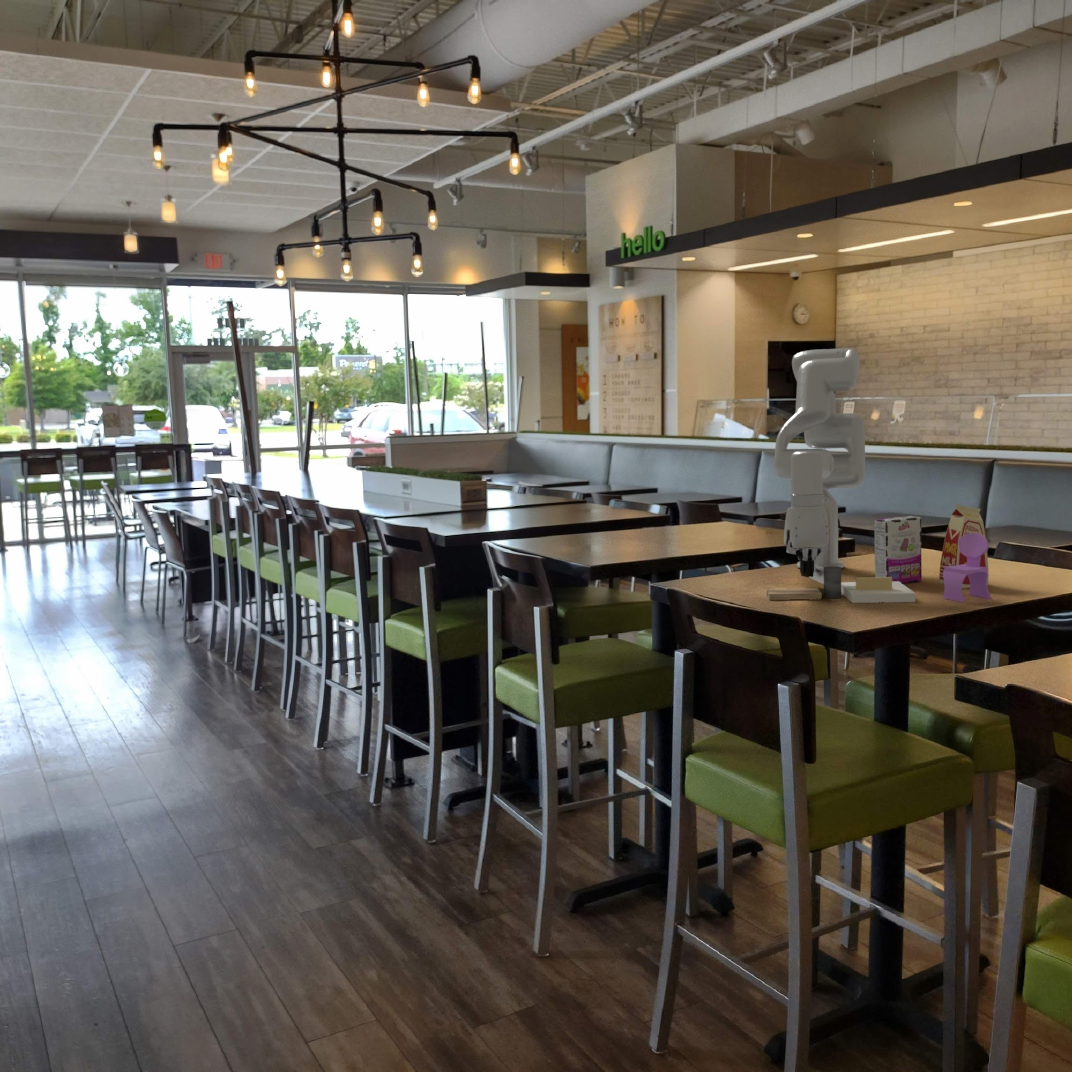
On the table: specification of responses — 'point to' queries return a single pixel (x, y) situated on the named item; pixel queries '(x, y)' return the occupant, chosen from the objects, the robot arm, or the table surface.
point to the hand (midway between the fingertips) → (807, 576)
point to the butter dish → (876, 590)
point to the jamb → (830, 589)
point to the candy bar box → (898, 548)
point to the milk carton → (959, 526)
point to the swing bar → (818, 574)
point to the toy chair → (968, 569)
